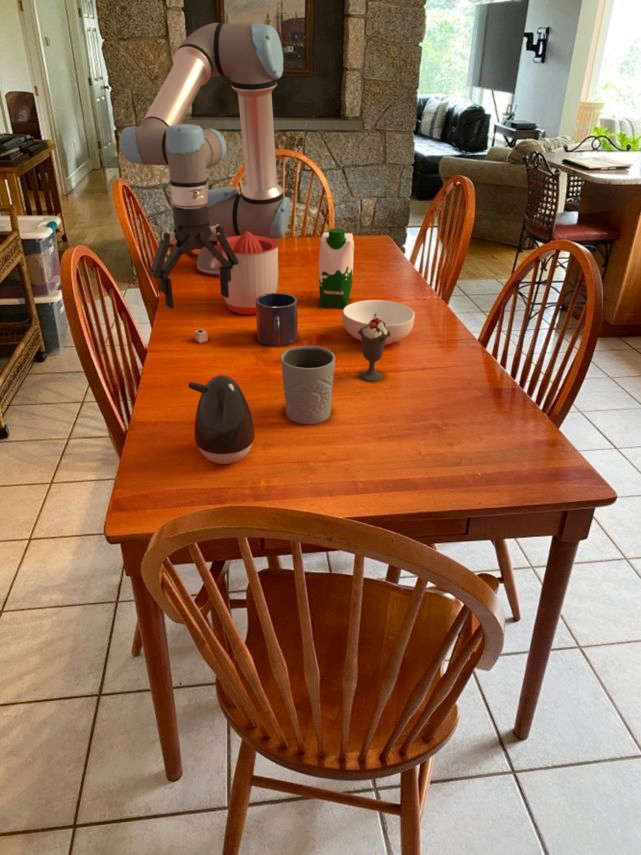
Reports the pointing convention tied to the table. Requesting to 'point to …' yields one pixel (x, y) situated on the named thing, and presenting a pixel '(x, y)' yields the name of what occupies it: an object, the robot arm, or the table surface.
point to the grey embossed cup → (308, 383)
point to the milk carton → (336, 268)
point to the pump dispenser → (223, 421)
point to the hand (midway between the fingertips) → (198, 301)
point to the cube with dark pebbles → (201, 336)
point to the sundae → (373, 346)
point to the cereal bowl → (389, 312)
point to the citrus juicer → (250, 271)
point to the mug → (276, 319)
